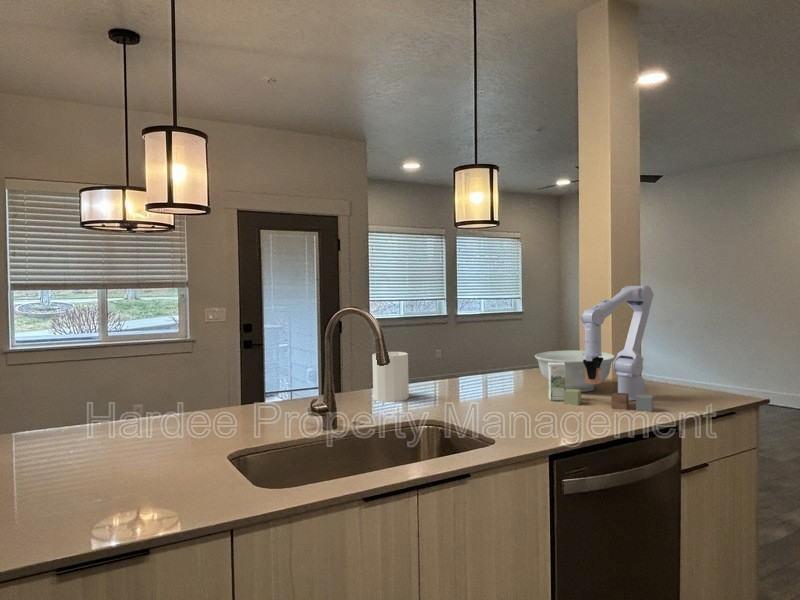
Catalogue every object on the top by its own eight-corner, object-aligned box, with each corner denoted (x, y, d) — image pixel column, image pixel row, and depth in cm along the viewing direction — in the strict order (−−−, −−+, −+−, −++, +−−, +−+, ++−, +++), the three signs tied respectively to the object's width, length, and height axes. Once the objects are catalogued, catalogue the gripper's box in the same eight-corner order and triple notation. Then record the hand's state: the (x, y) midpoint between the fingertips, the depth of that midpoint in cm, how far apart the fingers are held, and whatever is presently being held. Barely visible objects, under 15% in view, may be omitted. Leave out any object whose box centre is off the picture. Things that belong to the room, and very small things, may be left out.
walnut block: (614, 406, 205) (613, 392, 205) (628, 407, 203) (628, 393, 203) (611, 408, 201) (611, 394, 201) (626, 410, 198) (626, 396, 198)
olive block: (567, 401, 214) (567, 388, 214) (581, 402, 211) (580, 389, 211) (564, 404, 210) (564, 391, 210) (577, 405, 207) (577, 392, 207)
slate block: (638, 408, 201) (637, 394, 201) (653, 409, 199) (653, 395, 198) (636, 411, 197) (636, 396, 197) (651, 412, 194) (651, 398, 194)
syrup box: (563, 398, 220) (562, 361, 220) (566, 401, 214) (565, 363, 214) (548, 398, 221) (547, 361, 220) (550, 401, 215) (550, 363, 214)
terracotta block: (587, 380, 212) (587, 367, 211) (601, 381, 209) (601, 368, 209) (585, 382, 207) (584, 369, 207) (599, 383, 205) (598, 370, 205)
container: (393, 403, 218) (392, 357, 217) (365, 399, 226) (364, 354, 226) (415, 396, 229) (414, 352, 229) (387, 393, 238) (386, 350, 237)
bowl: (544, 397, 223) (544, 360, 222) (528, 382, 255) (528, 350, 254) (626, 396, 221) (626, 359, 221) (600, 381, 254) (600, 349, 253)
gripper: (586, 339, 216) (586, 374, 216) (577, 343, 203) (577, 380, 204) (605, 339, 212) (605, 375, 213) (597, 343, 200) (598, 381, 200)
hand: (593, 378), depth 208 cm, fingers closed on terracotta block, 5 cm apart
